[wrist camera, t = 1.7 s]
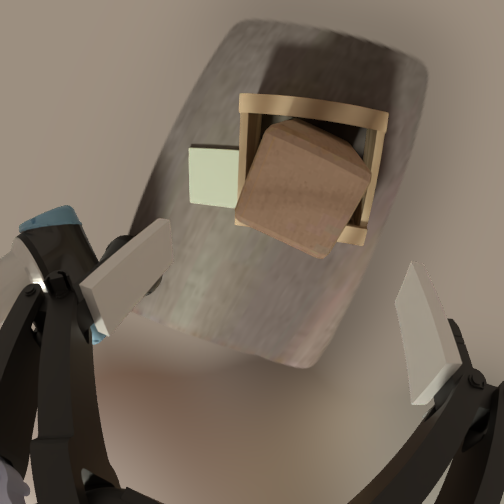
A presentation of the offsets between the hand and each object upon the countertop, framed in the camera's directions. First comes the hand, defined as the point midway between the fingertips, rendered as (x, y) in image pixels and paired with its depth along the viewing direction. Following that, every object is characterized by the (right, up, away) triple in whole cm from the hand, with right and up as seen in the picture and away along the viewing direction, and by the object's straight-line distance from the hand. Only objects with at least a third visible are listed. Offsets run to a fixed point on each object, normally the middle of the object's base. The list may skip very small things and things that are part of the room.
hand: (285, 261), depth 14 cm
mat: (-8, +13, +31) cm, 34 cm away
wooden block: (+7, +15, +26) cm, 31 cm away
